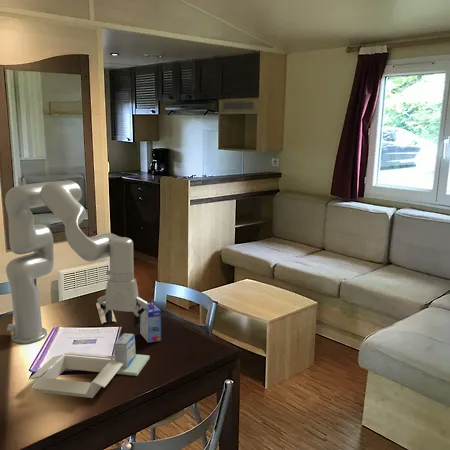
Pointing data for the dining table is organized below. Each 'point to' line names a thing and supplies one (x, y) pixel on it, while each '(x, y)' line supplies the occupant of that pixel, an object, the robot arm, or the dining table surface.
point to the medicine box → (125, 349)
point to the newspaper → (103, 314)
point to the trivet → (134, 365)
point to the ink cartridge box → (151, 323)
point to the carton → (75, 388)
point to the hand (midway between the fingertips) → (123, 324)
